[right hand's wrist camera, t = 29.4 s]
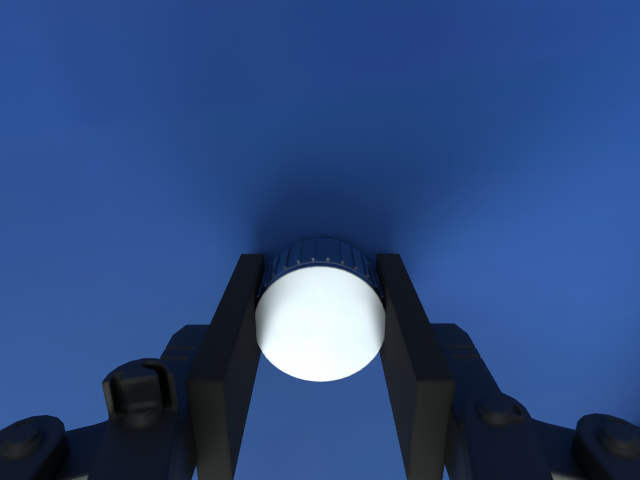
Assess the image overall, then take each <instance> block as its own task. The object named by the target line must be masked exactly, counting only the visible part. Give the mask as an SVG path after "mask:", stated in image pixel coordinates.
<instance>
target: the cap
mask: <svg viewBox="0 0 640 480" xmlns="http://www.w3.org/2000/svg"><path fill="white" fill-rule="evenodd" d="M257 298H258V301H257V304H256V308H255V323H256V339H257V344H258V346H259V348H260V350H261V351H262V353H263V354H264V356H265V357H266V358H267V359H268V360H269V361H270V362H271V363H272V364H273V365H274V366H275V367H277V368H278V369H280V370H281V371H283V372H284V373H286V374H288V375H290V376H293V377H296V378H298V379H303V380H307V381H314V382H325V381H334V380H339V379H342V378H345V377H348V376H350V375H353V374H355V373H357V372H358V371H360V370H362V369H363V368H364V367H366V366H367V365H368V364H369V363H370V362H371V361H372V360H373V359H374V358H375V356H376V355H377V354H378V352H379V351H380V349H381V347H382V345H383V343H384V334H385V318H386V310H385V306H384V303H383V299H384V296H383V292H382V289H381V285H380V282H379V278H378V274H377V273H375V271H374V269H373V265H372V263H371V262H369V261H368V260H367V258H366V257H365V255H364V253H361V252H360V251H358V250H357V249H356V248H354V246H351V245H349V244H347V243H344V242H342V241H341V240H340V241H338V240H335V239H329V238H315V237H314V238H312V239H307V240H300V242H297V243H294V244H292V245H291V246H290V245H289V246H288V247H287V248H286V249H284V250H283V251H282V252H279V253H278V254H277V256H276V257H275V259H274V260H273V261H272V262H271V261H270V263H269V266H268V269H267V272H264V275H263V278H262V281H261V285H260V288H259V291H258V294H257Z"/></svg>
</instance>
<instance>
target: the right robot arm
mask: <svg viewBox="0 0 640 480" xmlns="http://www.w3.org/2000/svg"><path fill="white" fill-rule="evenodd" d="M376 273H377V274H378V278H379V282H380V285H381V289H382V292H383V296H384V299H383V303H384V306H385V310H386V318H385V334H384V343H383V345H382V347H381V349H380V356H381V361H382V365H383V370H384V375H385V379H386V384H387V388H388V393H389V398H390V402H391V407H392V412H393V416H394V421H395V425H396V430H397V435H398V439H399V444H400V449H401V453H402V458H403V462H404V467H405V472H406V476H407V480H442V478H443V471H444V464H445V466H446V469H447V472H448V476H449V479H450V480H640V428H638V427H637V426H635V425H633V424H631V423H629V422H627V421H625V420H623V419H620V418H617V417H614V416H611V415H605V414H595V413H594V414H589V415H585V416H583V417H582V418H581V419H580V420H579V421H578V422H577V426H576V430H573V429H569V428H565V427H560V426H556V425H552V424H548V423H544V422H541V421H538V420H535V419H533V418H531V416H530V414H529V413H528V411H527V410H526V408H525V407H524V406H523V405H522V404H520V403H519V402H518V401H517V400H516V399H514V398H512V397H510V396H508V395H506V394H504V393H502V392H501V391H500V389H499V387H498V386H497V384H496V382H495V380H494V379H493V377H492V375H491V373H490V372H489V370H488V368H487V366H486V365H485V363H484V361H483V360H482V358H480V354H479V353H478V351H477V349H476V348H475V346H474V344H473V342H472V340H471V339H470V337H469V335H468V334H467V333H466V332H465V331H463V330H462V329H461V328H459V327H458V326H457V325H456V324H430V322H429V320H428V318H427V316H426V313H425V311H424V309H423V307H422V304H421V302H420V300H419V298H418V295H417V293H416V291H415V289H414V286H413V284H412V282H411V280H410V278H409V275H408V273H407V271H406V269H405V266H404V264H403V262H402V260H401V257H400V255H399V254H377V262H376ZM263 275H264V254H241V256H240V259H239V261H238V263H237V265H236V268H235V270H234V272H233V274H232V277H231V279H230V281H229V283H228V285H227V288H226V290H225V292H224V294H223V297H222V299H221V301H220V303H219V306H218V308H217V310H216V312H215V314H214V317H213V319H212V321H211V323H210V325H186V326H184V327H183V328H182V329H180V330H179V331H178V332H177V333H175V334H174V335H173V336H172V338H171V340H170V341H169V343H168V345H167V347H166V350H164V352H163V354H162V355H161V357H160V359H157V358H144V359H139V360H134V361H130V362H128V363H126V364H124V365H121V366H119V367H117V368H116V369H115V370H113V371H112V372H111V373H109V374H108V375H107V377H106V378H105V379H104V381H103V382H102V386H103V391H104V396H105V400H106V405H107V409H108V414H109V419H108V420H107V421H105V422H102V423H99V424H95V425H92V426H87V427H83V428H79V429H75V430H70V431H65V427H64V424H63V422H62V421H61V420H59V419H58V418H57V417H53V416H48V415H42V416H33V417H30V418H26V419H23V420H20V421H17V422H15V423H13V424H12V425H10V426H8V427H6V428H4V429H2V430H1V431H0V480H191V479H192V476H193V473H194V470H195V467H197V474H198V480H233V479H234V474H235V469H236V465H237V460H238V456H239V451H240V446H241V442H242V437H243V432H244V428H245V423H246V418H247V414H248V409H249V405H250V400H251V395H252V391H253V386H254V381H255V377H256V372H257V368H258V363H259V358H260V354H261V350H260V348H259V346H258V344H257V339H256V323H255V308H256V304H257V301H258V298H257V294H258V291H259V288H260V285H261V281H262V278H263Z"/></svg>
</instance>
